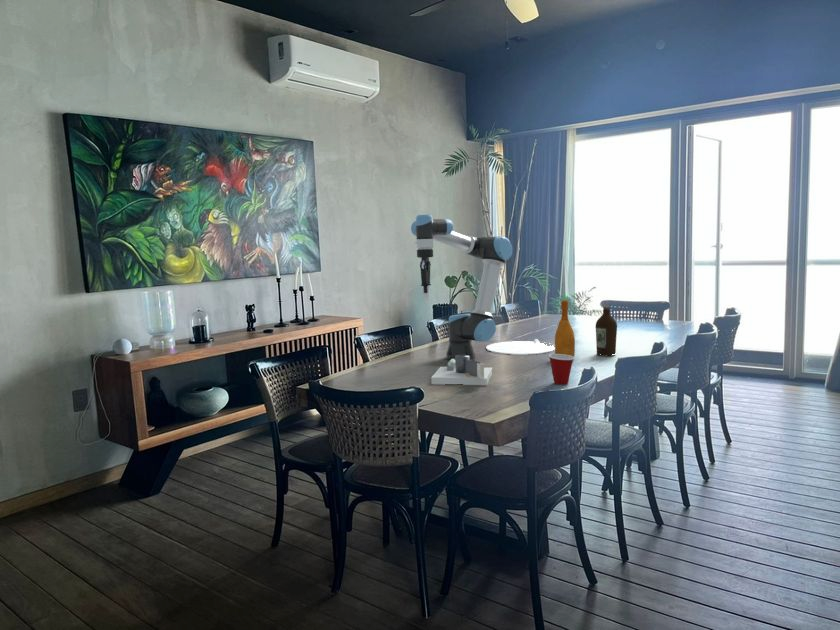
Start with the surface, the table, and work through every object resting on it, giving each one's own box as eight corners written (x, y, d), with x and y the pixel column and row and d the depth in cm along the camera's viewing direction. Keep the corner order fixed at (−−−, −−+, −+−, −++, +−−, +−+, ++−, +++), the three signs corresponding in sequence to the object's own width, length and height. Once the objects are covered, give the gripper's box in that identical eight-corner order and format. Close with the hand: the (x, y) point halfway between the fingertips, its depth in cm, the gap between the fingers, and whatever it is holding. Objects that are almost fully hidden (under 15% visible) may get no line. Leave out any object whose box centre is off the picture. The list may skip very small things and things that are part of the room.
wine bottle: (566, 356, 315) (566, 298, 312) (578, 360, 307) (579, 300, 303) (550, 359, 311) (550, 300, 307) (563, 362, 302) (563, 301, 299)
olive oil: (606, 352, 325) (606, 305, 322) (621, 355, 316) (621, 306, 313) (591, 354, 320) (591, 306, 317) (606, 357, 311) (606, 308, 308)
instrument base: (440, 373, 286) (440, 358, 285) (492, 374, 281) (491, 359, 280) (431, 384, 265) (431, 368, 264) (486, 385, 260) (486, 369, 259)
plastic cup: (575, 386, 254) (576, 358, 252) (549, 386, 255) (549, 357, 254) (573, 380, 264) (573, 353, 263) (548, 380, 266) (548, 353, 265)
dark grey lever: (453, 370, 275) (452, 355, 274) (466, 369, 278) (465, 353, 277) (475, 380, 256) (474, 363, 255) (488, 378, 258) (488, 362, 257)
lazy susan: (510, 340, 371) (510, 335, 370) (570, 346, 346) (570, 340, 345) (472, 351, 340) (472, 345, 340) (535, 358, 315) (535, 352, 315)
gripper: (419, 248, 288) (421, 298, 291) (413, 249, 276) (415, 301, 279) (435, 248, 287) (436, 298, 290) (430, 248, 274) (431, 301, 277)
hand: (426, 299), depth 284 cm, fingers closed
